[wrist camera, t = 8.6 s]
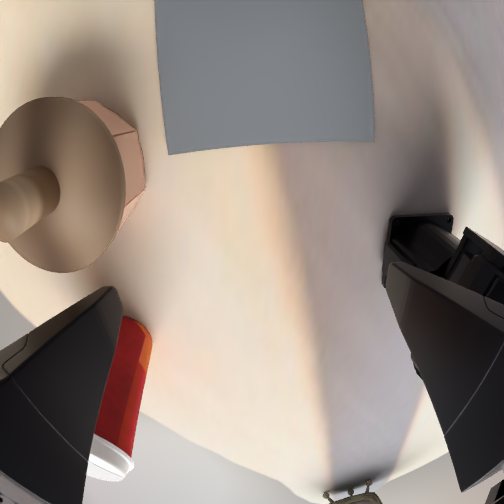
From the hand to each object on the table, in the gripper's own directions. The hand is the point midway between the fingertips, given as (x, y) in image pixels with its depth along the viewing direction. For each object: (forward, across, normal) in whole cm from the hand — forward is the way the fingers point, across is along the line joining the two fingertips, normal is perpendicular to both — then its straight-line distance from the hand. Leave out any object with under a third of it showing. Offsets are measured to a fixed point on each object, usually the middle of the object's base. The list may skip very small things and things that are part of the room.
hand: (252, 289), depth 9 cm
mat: (+12, -2, -10) cm, 16 cm away
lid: (+8, +12, -3) cm, 14 cm away
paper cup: (+13, +13, +13) cm, 22 cm away
